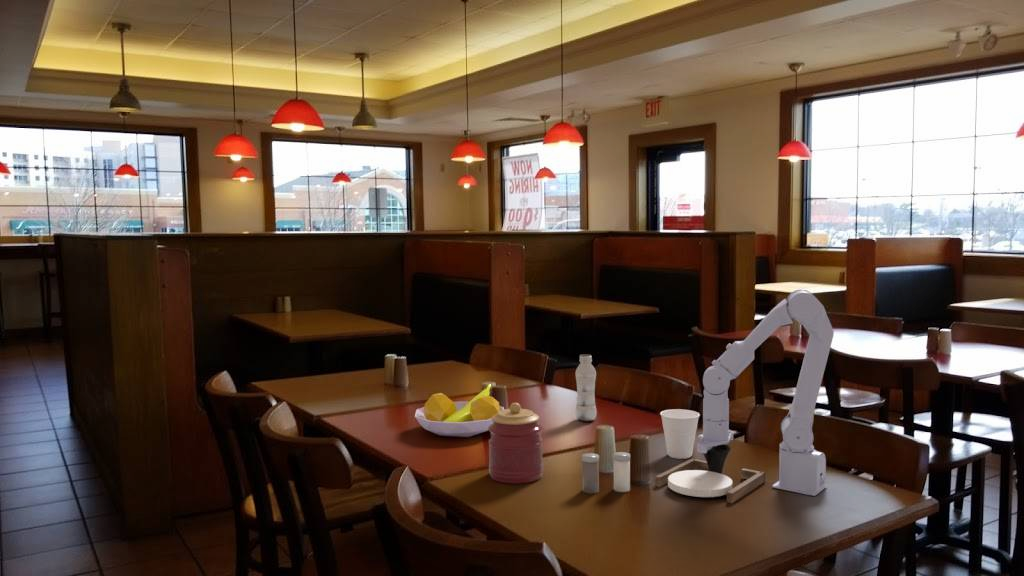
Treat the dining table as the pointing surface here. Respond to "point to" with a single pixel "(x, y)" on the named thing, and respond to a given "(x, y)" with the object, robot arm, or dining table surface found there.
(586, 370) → the plastic bottle
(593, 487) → the pepper shaker
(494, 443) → the canister
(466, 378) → the dining table surface
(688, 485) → the plastic lid
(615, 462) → the salt shaker
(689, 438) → the cup
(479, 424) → the fruit bowl
